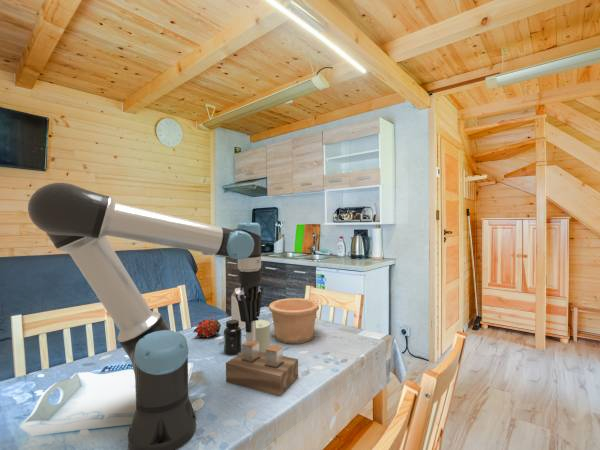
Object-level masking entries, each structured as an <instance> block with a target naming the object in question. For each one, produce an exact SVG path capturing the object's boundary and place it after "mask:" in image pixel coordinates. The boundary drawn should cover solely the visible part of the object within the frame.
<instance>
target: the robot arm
mask: <svg viewBox="0 0 600 450" xmlns="http://www.w3.org/2000/svg"><path fill="white" fill-rule="evenodd" d="M27 212H28V216H29V218H30V221H31V222H32V224H34V225H35V226H36V227H37V228H38V229H39V230H41V231H42V232H45V233H46V235H47V237H48V238H49V239H50V241H51V243H52V244H53V245H54V247H55V248H56V250H57V251H61V252H65V253H68V254H69V255H70V257H71V258H72V261H73V262H74V263H75V265H76V266H77V268H78V269H79V271H80V272H81V274H82V276H83V277H84V278H85V279H86V282H87V283H88V285H89V286H90V288H91V289H92V290H93V292H94V294H95V296H96V297H97V298H98V300H99V301H100V303H101V304H102V305H103V307H104V309H105V310H106V312H107V313H108V315H109V316H110V319H112V321H113V322H114V324H115V326H116V327H117V329H118V330H119V333H118V336H117V341H118V343H119V344H120V346H121V348H122V349H123V350H124V352H125V353H126V354H127V355H126V356H127V357H128V358H129V360H130V362H131V365H132V368H133V369H132V370H133V373H134V380H135V382H134V386H135V387H134V388H135V411H134V413H133V417H132V421H131V425H130V427H129V430H128V433H127V447H128V450H178V449H180V448H182V447H183V446H184V445H185V444H187V443H188V442H189V441H190V440H191V439H192V438H193V436H194V435H195V433H196V430H197V417H196V412H195V411H194V408H193V405H192V403H191V401H190V397H189V362H188V361H189V356H188V355H189V346H188V340H187V338H186V336H185V335H184V334H183V333H181V332H179V331H174V330H171V329H170V327H169V325H168V324H167V323H166V321H165V320H164V318H163V316H162V315H161V313H160V312H158V311H154V310H153V311H152V310H151V308H150V306H149V305H148V303H147V302H146V300H145V298H144V297H143V295H142V294H141V292H140V290H139V289H138V287H137V285H136V284H135V282H134V281H133V279H132V277H131V276H130V274H129V272H128V271H127V269H126V268H125V266H124V264H123V262H122V261H121V259H120V258H119V256H118V255H117V253H116V251H115V250H114V247H112V245H111V243H110V242H109V240H108V238H107V237H106V236H108V237H114V238H120V239H125V240H126V239H127V240H129V241H130V240H132V241H137V242H142V243H149V244H153V245H159V246H166V247H170V248H176V249H183V250H186V251H188V250H189V251H192V252H193V251H194V252H199V253H201V254H202V255H204V256H206V255H207V256H209V255H210V256H213V255H216V256H219V257H226V258H230V259H234V260H237V269H238V272H237V276H238V282H239V283H240V284H241V285H240V287H239V288H240V291H241V292H240V293H239V294H236V296H235V297H236V299H237V301H238V307H239V313H240V318H241V321H242V322H245V323H246V328H245V334H246V335H245V342H247V341H249V342H254V341H256V334H255V328H256V320H257V321H258V320H260V315H261V307H262V298H263V297H262V296H263V292H264V287H263V286H260V282H262V270H261V268H262V231H261V225H260V224H259V223H258V222H239V223H237V227H236V228H234V229H230V228H226V227H221V226H218V225H215V224H209V223H205V222H201V221H198V220H197V221H196V220H191V219H187V218H183V217H180V216H176V215H175V216H174V215H171V214H167V213H162V212H158V211H153V210H149V209H147V208H145V209H144V208H140V207H136V206H132V205H128V204H123V203H119V202H116V201H114V199H113V198H112V196H109V195H105V194H103V193H102V194H101V193H98V192H94V191H92V190H89V189H85V188H83V187H80V186H78V185H76V184H72V183H67V182H53V183H49V184H46V185H43V186H41V187H39V188H38V189H36V191H35V192H33V193H32V195H31V196H30V198H29V200H28V204H27ZM85 279H84V280H85Z"/></svg>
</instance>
